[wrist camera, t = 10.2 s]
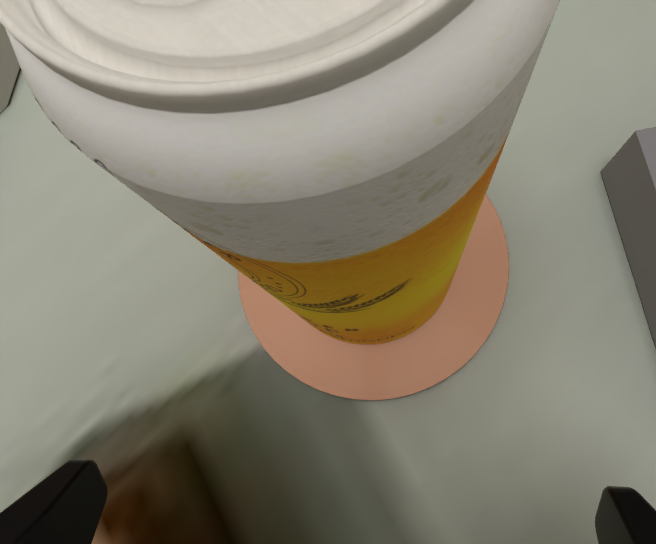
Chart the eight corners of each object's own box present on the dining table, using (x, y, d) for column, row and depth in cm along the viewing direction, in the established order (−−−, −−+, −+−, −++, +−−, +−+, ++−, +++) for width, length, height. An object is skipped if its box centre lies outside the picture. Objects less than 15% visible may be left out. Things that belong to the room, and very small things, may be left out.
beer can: (258, 247, 19) (-162, -178, 5) (388, 158, 20) (334, -511, 5) (345, 381, 18) (83, 309, 3) (487, 283, 18) (823, -195, 3)
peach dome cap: (536, 377, 17) (540, 376, 17) (257, 419, 19) (252, 419, 18) (472, 122, 20) (474, 114, 19) (231, 172, 21) (226, 166, 21)
